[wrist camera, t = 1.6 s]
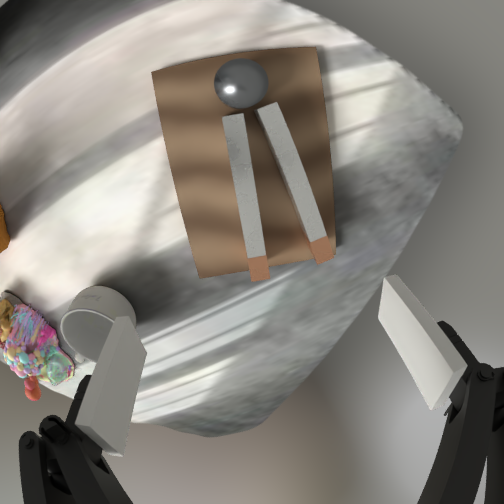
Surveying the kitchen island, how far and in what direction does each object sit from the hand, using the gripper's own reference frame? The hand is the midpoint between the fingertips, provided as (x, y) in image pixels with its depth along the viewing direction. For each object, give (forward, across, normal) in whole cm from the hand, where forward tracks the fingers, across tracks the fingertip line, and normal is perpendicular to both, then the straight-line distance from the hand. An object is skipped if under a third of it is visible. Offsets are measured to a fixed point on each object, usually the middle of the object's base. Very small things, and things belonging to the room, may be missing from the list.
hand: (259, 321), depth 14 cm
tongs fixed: (+21, +2, +3) cm, 21 cm away
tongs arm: (+21, +6, +1) cm, 22 cm away
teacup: (+22, -24, -14) cm, 36 cm away
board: (+22, +2, +4) cm, 23 cm away
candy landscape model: (+23, -48, -20) cm, 57 cm away
